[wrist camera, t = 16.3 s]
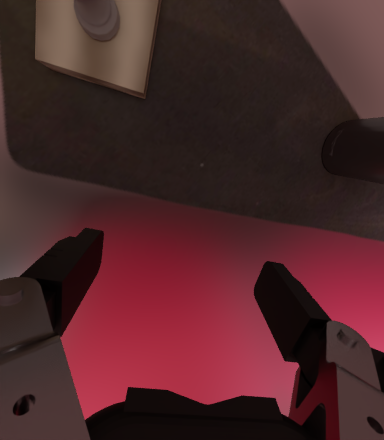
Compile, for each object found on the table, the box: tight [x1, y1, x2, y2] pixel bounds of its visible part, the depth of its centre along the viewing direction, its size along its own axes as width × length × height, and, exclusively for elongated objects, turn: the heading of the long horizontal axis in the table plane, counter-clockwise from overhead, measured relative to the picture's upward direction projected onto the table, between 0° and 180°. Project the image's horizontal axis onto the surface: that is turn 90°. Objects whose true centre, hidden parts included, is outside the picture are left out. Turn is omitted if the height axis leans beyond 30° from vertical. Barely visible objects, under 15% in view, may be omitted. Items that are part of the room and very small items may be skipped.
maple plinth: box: [35, 0, 162, 99], centre depth 25 cm, size 12×12×4 cm
